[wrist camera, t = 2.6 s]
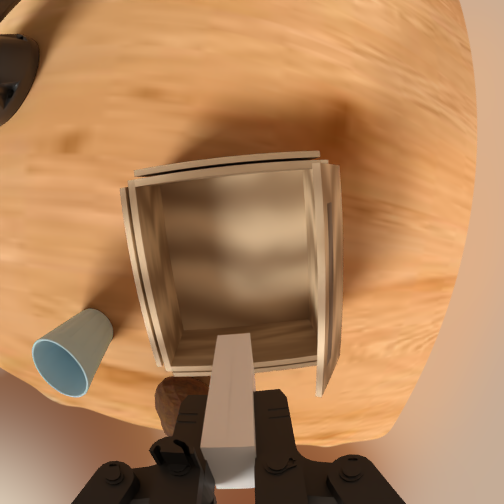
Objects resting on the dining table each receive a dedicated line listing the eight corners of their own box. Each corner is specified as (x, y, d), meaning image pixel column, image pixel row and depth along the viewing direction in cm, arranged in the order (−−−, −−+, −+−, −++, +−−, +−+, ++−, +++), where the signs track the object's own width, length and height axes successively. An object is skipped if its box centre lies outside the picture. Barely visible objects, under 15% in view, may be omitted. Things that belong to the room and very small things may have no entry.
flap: (333, 165, 21) (311, 163, 16) (339, 165, 21) (320, 162, 16) (334, 355, 25) (315, 396, 20) (339, 355, 25) (321, 397, 20)
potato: (163, 405, 36) (151, 444, 29) (160, 355, 34) (144, 394, 26) (212, 413, 37) (207, 453, 29) (216, 363, 34) (211, 405, 27)
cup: (105, 293, 32) (62, 334, 22) (130, 345, 34) (100, 396, 23) (64, 306, 32) (21, 343, 22) (89, 353, 34) (56, 398, 24)
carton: (148, 174, 28) (117, 173, 21) (305, 157, 29) (327, 150, 21) (175, 337, 33) (160, 377, 26) (312, 325, 33) (330, 363, 26)
